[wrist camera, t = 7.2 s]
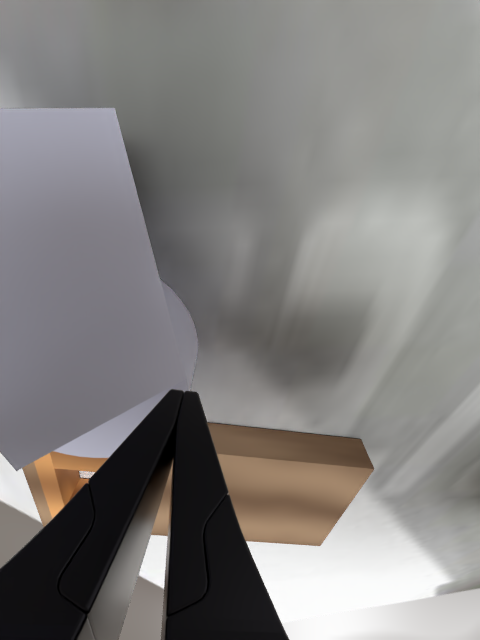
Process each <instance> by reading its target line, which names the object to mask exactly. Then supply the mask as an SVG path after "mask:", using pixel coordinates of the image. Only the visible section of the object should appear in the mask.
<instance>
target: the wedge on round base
mask: <svg viewBox="0 0 480 640" xmlns="http://www.w3.org/2000/svg"><path fill="white" fill-rule="evenodd" d="M197 355H198V338H197V332H196V328H195V325H194V322H193V320H192V317H191V315H190V313H189V311H188V310H187V308H186V307H185V305H184V303H183V302H182V301H181V299H180V298H179V297H178V296H177V295H176V294H175V292H174V291H173V290H172V289H171V288H170V287H168V286H167V285H166V284H165V283H164V282H163V281H162V280H160V277H159V273H158V269H157V266H156V262H155V258H154V254H153V251H152V247H151V243H150V239H149V236H148V232H147V228H146V224H145V221H144V217H143V213H142V209H141V205H140V202H139V198H138V194H137V190H136V187H135V183H134V179H133V175H132V172H131V168H130V164H129V160H128V157H127V153H126V149H125V145H124V141H123V138H122V134H121V130H120V126H119V123H118V119H117V115H116V111H115V108H0V452H1V454H2V455H3V456H4V457H5V458H6V459H7V460H8V462H9V463H10V464H11V465H12V466H13V467H14V469H15V470H16V471H17V470H19V469H21V468H23V467H25V466H26V465H28V464H30V463H32V462H34V461H36V460H37V459H39V458H41V457H43V456H45V455H47V454H48V453H50V452H52V451H55V452H59V453H63V454H67V455H73V456H79V457H90V458H109V457H110V456H111V455H112V454H113V452H114V451H115V450H116V449H117V448H118V447H119V446H120V445H121V444H122V442H123V441H124V440H125V439H126V438H127V437H128V436H129V435H130V434H131V432H132V431H133V430H134V429H135V428H136V427H137V426H138V425H139V424H140V422H141V421H142V420H143V419H144V418H145V417H146V416H147V415H148V414H149V412H150V411H151V410H152V409H153V408H154V407H155V406H156V405H157V404H158V402H159V401H160V400H161V399H162V398H163V397H164V396H165V395H166V394H167V393H168V391H169V390H171V389H177V390H183V391H184V392H185V391H190V390H191V385H192V380H193V375H194V370H195V365H196V360H197Z"/></svg>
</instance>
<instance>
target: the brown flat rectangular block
mask: <svg viewBox="0 0 480 640" xmlns="http://www.w3.org/2000/svg"><path fill="white" fill-rule="evenodd" d="M207 424H208V427H209V430H210V433H211V436H212V440H213V443H214V446H215V449H216V453H217V456H218V459H219V462H220V465H221V469H222V472H223V475H224V478H225V482H226V485H227V488H228V491H229V493H228V494H229V495H230V497H231V500H232V504H233V507H234V510H235V513H236V516H237V519H238V522H239V525H240V528H241V530H242V533H243V536H244V538H245V540H246V541H253V542H268V543H283V544H298V545H313V546H320V545H321V544H322V543H323V541H324V540H325V538H326V537H327V535H328V534H329V533H330V531H331V530H332V528H333V527H334V526H335V524H336V523H337V521H338V520H339V518H340V517H341V516H342V514H343V513H344V511H345V510H346V509H347V507H348V506H349V504H350V503H351V501H352V500H353V499H354V497H355V496H356V494H357V493H358V492H359V490H360V489H361V487H362V486H363V484H364V483H365V482H366V480H367V479H368V477H369V476H370V474H371V473H372V472H373V470H374V467H373V465H372V463H371V461H370V458H369V456H368V454H367V452H366V449H365V447H364V445H363V443H362V441H361V439H355V438H345V437H336V436H327V435H317V434H308V433H299V432H290V431H280V430H271V429H262V428H253V427H243V426H234V425H225V424H215V423H207ZM107 459H108V458H90V457H79V456H73V455H67V454H63V453H59V452H55V451H52V452H50V453H48V454H47V455H45V456H43V457H41V458H39V459H37V460H36V461H34V462H32V463H30V464H28V465H26V466H25V467H23V468H22V469H23V471H24V474H25V477H26V480H27V482H28V485H29V488H30V491H31V493H32V496H33V499H34V502H35V504H36V507H37V510H38V513H39V515H40V518H41V521H42V523H43V526H44V527H45V526H46V525H47V524H48V523H49V522H50V521H51V520H52V519H53V518H54V517H55V516H56V515H57V514H58V512H59V511H60V510H61V509H62V508H63V507H64V506H65V505H66V504H67V503H68V502H69V501H70V500H71V499H72V498H73V497H74V495H75V494H76V493H77V492H78V491H79V490H80V489H81V488H82V487H83V485H84V484H85V483H88V480H89V479H82V478H80V476H79V471H91V472H96V471H97V470H98V469H99V468H100V467H101V466H102V465H103V463H104V462H105V461H106V460H107ZM172 467H173V463H172ZM172 467H171V470H170V474H169V477H168V480H167V483H166V487H165V490H164V493H163V496H162V500H161V503H160V506H159V509H158V513H157V516H156V519H155V523H154V526H153V529H152V532H151V535H163V536H168V525H169V510H170V495H171V480H172ZM78 470H79V471H78Z"/></svg>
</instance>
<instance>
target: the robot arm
mask: <svg viewBox="0 0 480 640" xmlns="http://www.w3.org/2000/svg"><path fill="white" fill-rule="evenodd" d="M172 463H173V467H172ZM171 467H172V480H171V495H170V510H169V525H168V540H167V555H166V570H165V585H164V601H163V615H162V630H161V640H289V638H288V636H287V634H286V632H285V630H284V628H283V626H282V623H281V621H280V619H279V617H278V614H277V612H276V610H275V608H274V605H273V603H272V601H271V599H270V596H269V594H268V592H267V589H266V587H265V585H264V583H263V580H262V578H261V576H260V574H259V571H258V569H257V567H256V564H255V562H254V560H253V558H252V555H251V553H250V550H249V548H248V545H247V543H246V540H245V538H244V536H243V533H242V530H241V528H240V525H239V522H238V519H237V516H236V513H235V510H234V507H233V504H232V500H231V497H230V495H229V494H228V493H229V491H228V488H227V485H226V482H225V478H224V475H223V472H222V469H221V465H220V462H219V459H218V456H217V453H216V449H215V446H214V443H213V440H212V436H211V433H210V430H209V427H208V424H207V420H206V417H205V414H204V411H203V407H202V404H201V401H200V398H199V395H198V393H197V392H194V391H185V392H184V391H183V390H177V389H171V390H169V391H168V393H167V394H166V395H165V396H164V397H163V398H162V399H161V400H160V401H159V402H158V404H157V405H156V406H155V407H154V408H153V409H152V410H151V411H150V412H149V414H148V415H147V416H146V417H145V418H144V419H143V420H142V421H141V422H140V424H139V425H138V426H137V427H136V428H135V429H134V430H133V431H132V432H131V434H130V435H129V436H128V437H127V438H126V439H125V440H124V441H123V442H122V444H121V445H120V446H119V447H118V448H117V449H116V450H115V451H114V452H113V454H112V455H111V456H110V457H109V458H108V459H107V460H106V461H105V462H104V463H103V465H102V466H101V467H100V468H99V469H98V470H97V471H96V472H95V473H94V475H93V476H92V477H91V478H90V479H89V480H88V483H85V484H84V485H83V487H82V488H81V489H80V490H79V491H78V492H77V493H76V494H75V495H74V497H73V498H72V499H71V500H70V501H69V502H68V503H67V504H66V505H65V506H64V507H63V508H62V509H61V510H60V511H59V512H58V514H57V515H56V516H55V517H54V518H53V519H52V520H51V521H50V522H49V523H48V524H47V525H46V526H45V527H44V528H43V529H41V531H39V532H38V533H37V534H36V535H35V536H34V537H33V538H32V539H31V540H30V541H29V542H28V543H27V544H26V545H25V546H24V547H23V548H22V549H21V550H20V551H18V552H17V553H16V554H15V555H14V556H13V557H12V558H11V559H10V560H9V561H8V562H7V563H6V564H5V565H4V566H2V567H1V568H0V640H118V639H119V636H120V633H121V630H122V627H123V623H124V620H125V617H126V613H127V610H128V607H129V603H130V601H131V597H132V594H133V591H134V588H135V584H136V581H137V578H138V575H139V571H140V568H141V565H142V562H143V558H144V555H145V552H146V549H147V545H148V542H149V539H150V536H151V532H152V529H153V526H154V523H155V519H156V516H157V513H158V509H159V506H160V503H161V500H162V496H163V493H164V490H165V487H166V483H167V480H168V477H169V474H170V470H171Z"/></svg>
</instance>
